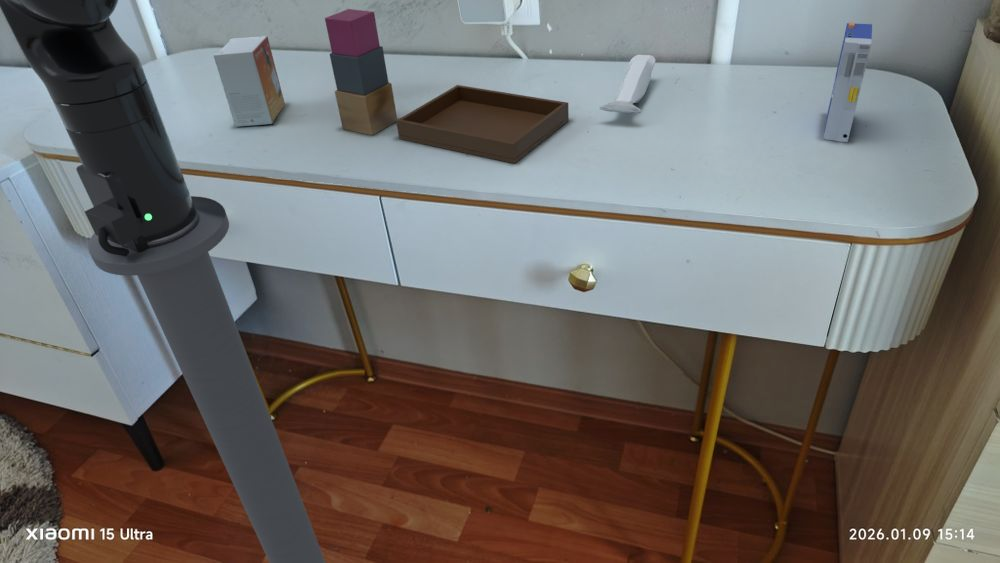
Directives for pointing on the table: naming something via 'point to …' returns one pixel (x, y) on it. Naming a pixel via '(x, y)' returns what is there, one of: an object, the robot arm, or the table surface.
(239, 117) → the small box
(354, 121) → the oak block
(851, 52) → the walkman
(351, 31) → the pink block
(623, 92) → the white fish figurine
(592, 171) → the table surface
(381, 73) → the grey block
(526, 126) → the tray
